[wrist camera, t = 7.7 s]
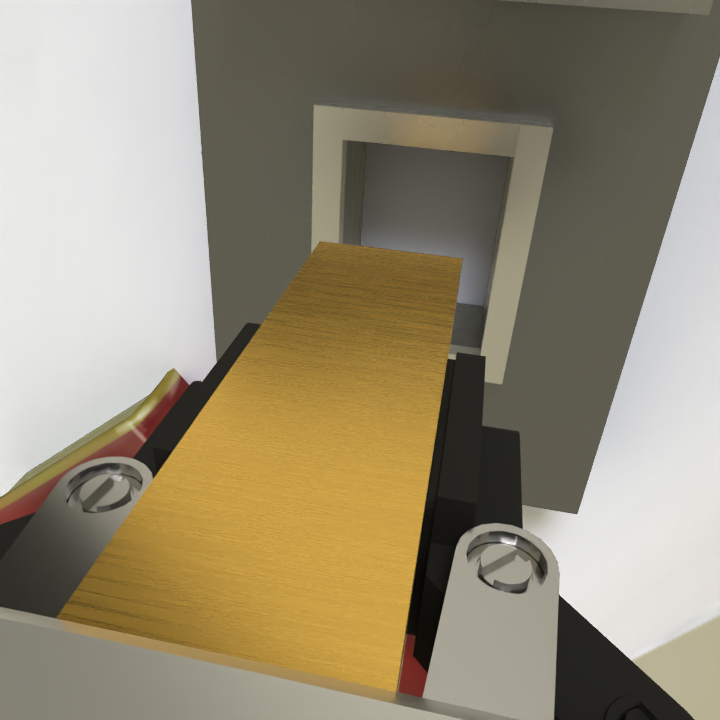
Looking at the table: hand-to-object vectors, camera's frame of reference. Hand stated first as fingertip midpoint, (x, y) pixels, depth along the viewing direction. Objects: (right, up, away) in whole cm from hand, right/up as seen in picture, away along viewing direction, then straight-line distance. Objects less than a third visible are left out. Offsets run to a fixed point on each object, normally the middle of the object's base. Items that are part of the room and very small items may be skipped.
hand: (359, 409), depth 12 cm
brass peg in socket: (0, +1, +2) cm, 3 cm away
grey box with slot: (+2, +6, +9) cm, 11 cm away
